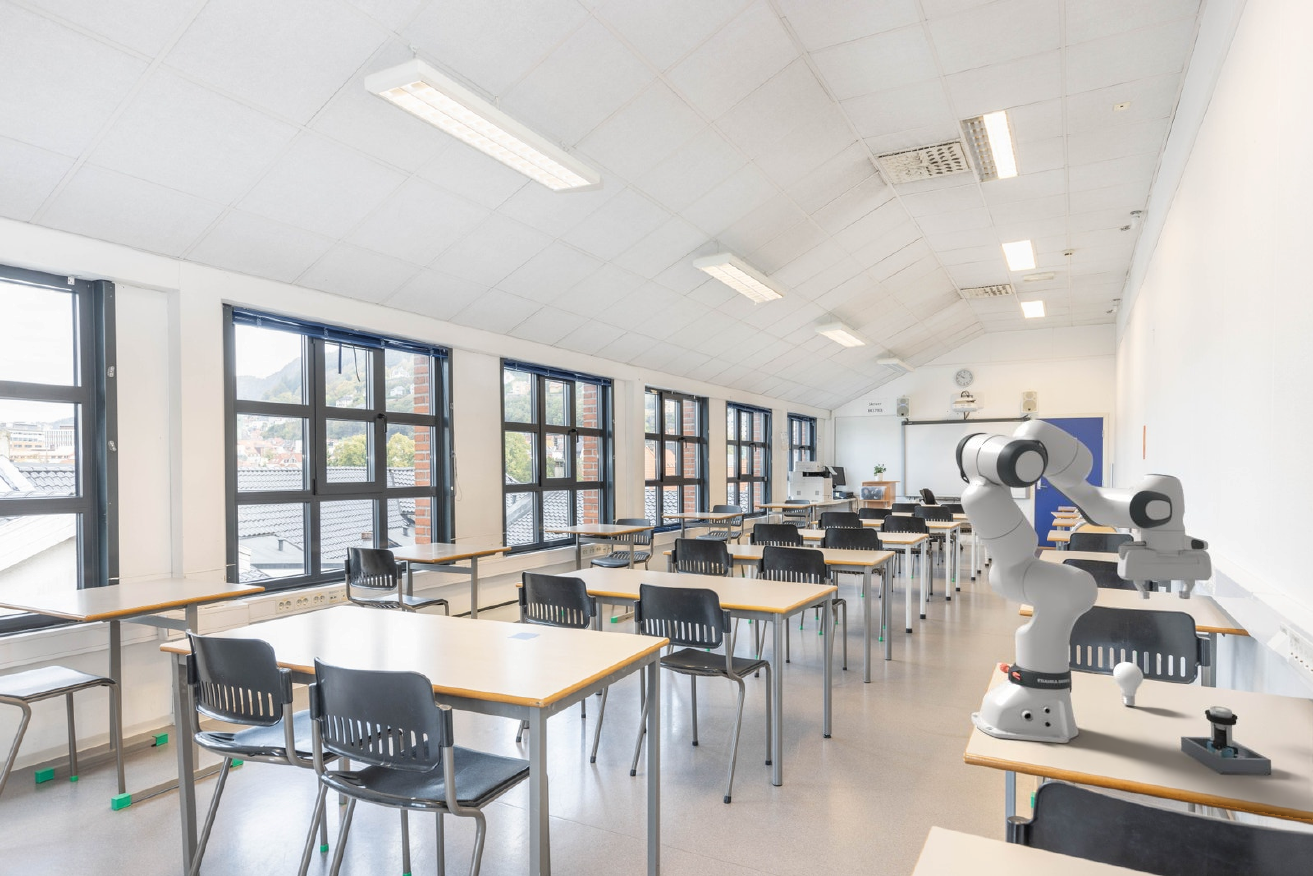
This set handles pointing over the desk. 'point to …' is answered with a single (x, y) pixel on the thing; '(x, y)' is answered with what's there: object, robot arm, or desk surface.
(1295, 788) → the desk surface
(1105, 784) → the desk surface
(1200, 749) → the tray
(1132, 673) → the lightbulb
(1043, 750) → the desk surface
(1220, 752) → the push button
